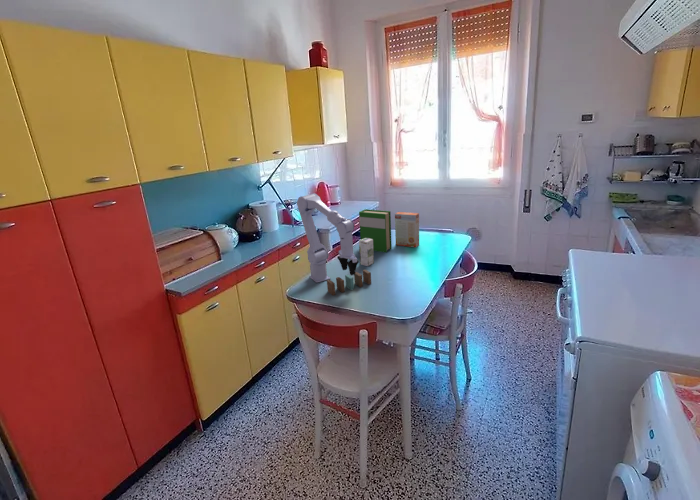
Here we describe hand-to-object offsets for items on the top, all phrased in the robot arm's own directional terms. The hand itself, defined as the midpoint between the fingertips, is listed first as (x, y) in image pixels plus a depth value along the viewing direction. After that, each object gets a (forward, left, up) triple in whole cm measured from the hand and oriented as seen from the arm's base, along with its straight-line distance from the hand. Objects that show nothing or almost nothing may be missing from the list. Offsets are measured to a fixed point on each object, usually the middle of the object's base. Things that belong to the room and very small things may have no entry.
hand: (348, 272), depth 176 cm
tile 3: (0, +5, -8) cm, 10 cm away
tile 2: (0, -5, -8) cm, 10 cm away
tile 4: (0, +10, -8) cm, 13 cm away
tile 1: (0, -10, -8) cm, 13 cm away
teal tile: (0, 0, -8) cm, 8 cm away
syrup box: (-21, +23, -8) cm, 32 cm away
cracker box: (-32, +60, -8) cm, 68 cm away
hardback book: (-39, +41, -8) cm, 57 cm away
